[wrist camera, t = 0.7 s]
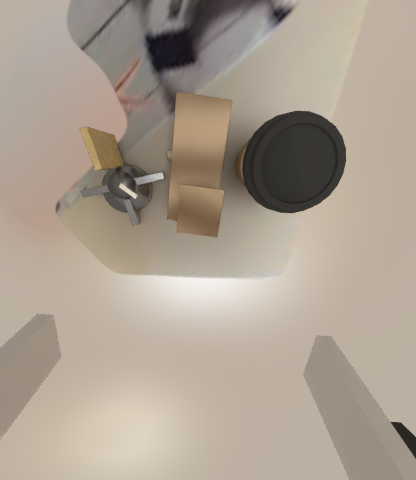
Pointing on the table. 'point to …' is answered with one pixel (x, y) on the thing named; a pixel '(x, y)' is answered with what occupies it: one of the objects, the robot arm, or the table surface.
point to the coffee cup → (292, 162)
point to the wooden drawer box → (198, 163)
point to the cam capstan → (117, 175)
